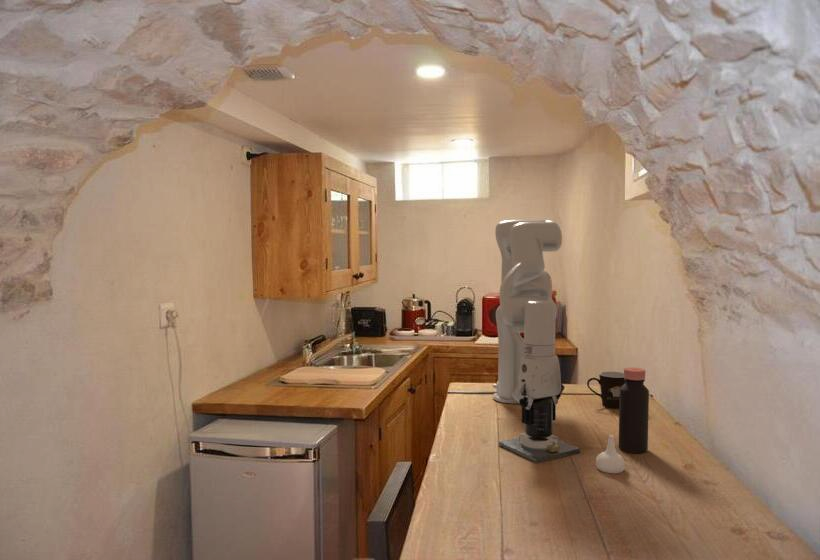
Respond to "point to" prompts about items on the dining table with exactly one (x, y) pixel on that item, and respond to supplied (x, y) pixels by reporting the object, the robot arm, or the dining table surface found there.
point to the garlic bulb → (610, 459)
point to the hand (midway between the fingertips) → (538, 421)
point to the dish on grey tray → (539, 447)
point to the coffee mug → (609, 388)
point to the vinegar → (633, 412)
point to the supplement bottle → (541, 418)
